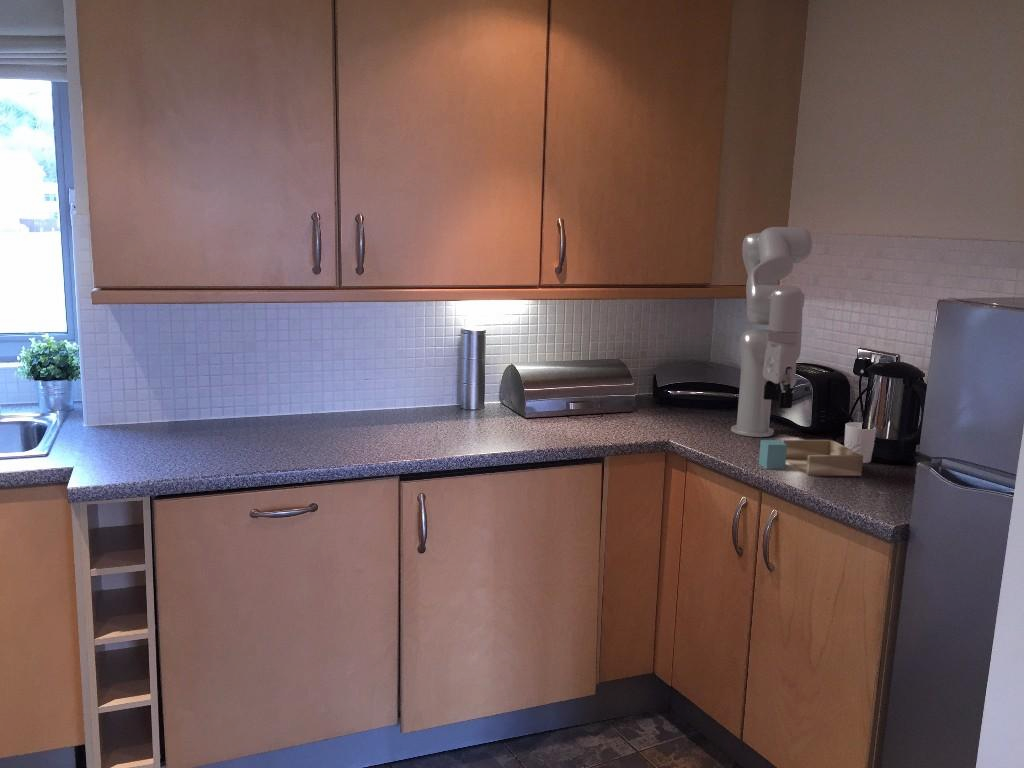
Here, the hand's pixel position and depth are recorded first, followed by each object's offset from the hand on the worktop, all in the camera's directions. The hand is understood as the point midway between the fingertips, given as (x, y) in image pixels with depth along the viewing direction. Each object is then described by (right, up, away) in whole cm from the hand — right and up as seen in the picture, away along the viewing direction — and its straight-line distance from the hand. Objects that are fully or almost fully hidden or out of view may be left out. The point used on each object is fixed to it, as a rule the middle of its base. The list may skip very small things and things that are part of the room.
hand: (777, 403), depth 225 cm
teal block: (-1, -17, +3) cm, 17 cm away
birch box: (+12, -17, +4) cm, 22 cm away
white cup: (+26, -16, +12) cm, 33 cm away
